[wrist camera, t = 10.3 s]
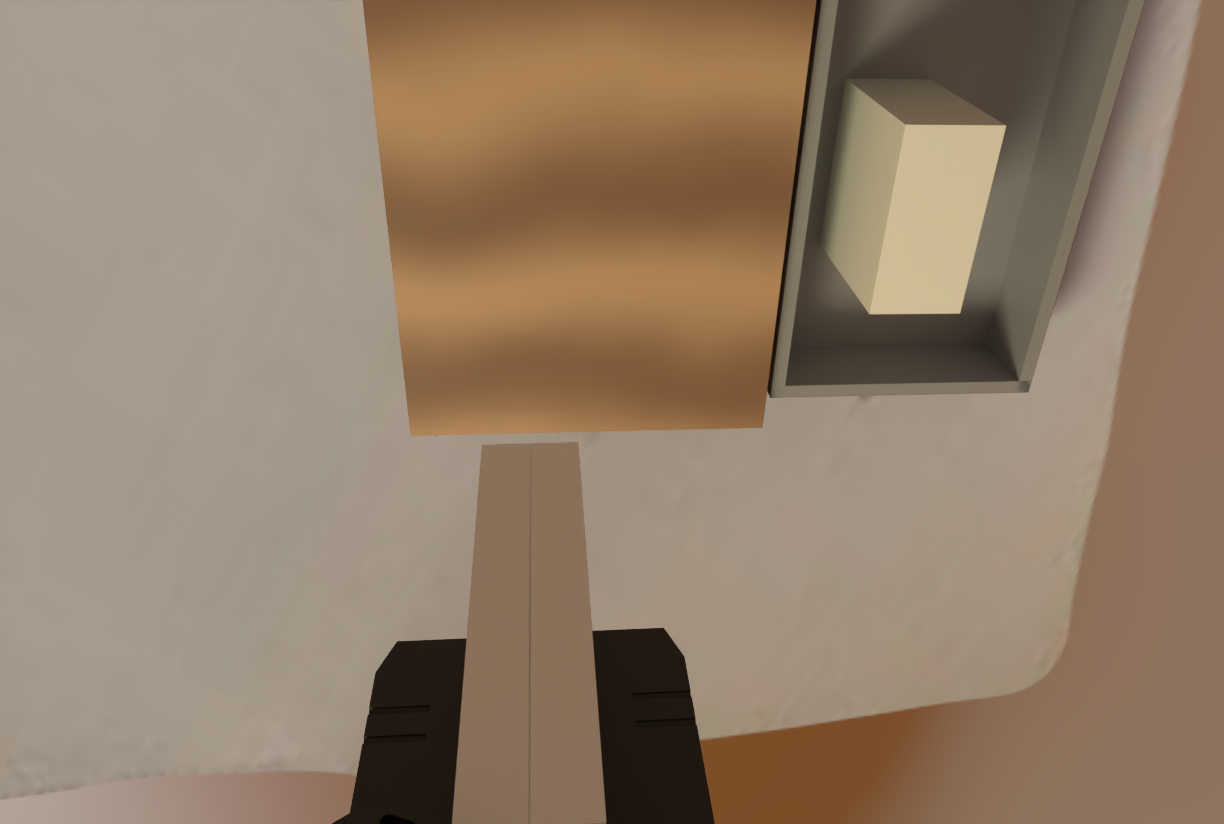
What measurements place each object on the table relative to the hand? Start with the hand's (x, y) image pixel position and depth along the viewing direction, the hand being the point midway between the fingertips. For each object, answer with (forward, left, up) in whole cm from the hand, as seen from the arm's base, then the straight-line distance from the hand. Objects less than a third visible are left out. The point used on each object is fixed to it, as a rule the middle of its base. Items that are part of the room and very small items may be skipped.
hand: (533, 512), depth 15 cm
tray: (0, +14, -21) cm, 25 cm away
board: (0, +2, -21) cm, 21 cm away
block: (0, +11, -17) cm, 20 cm away
